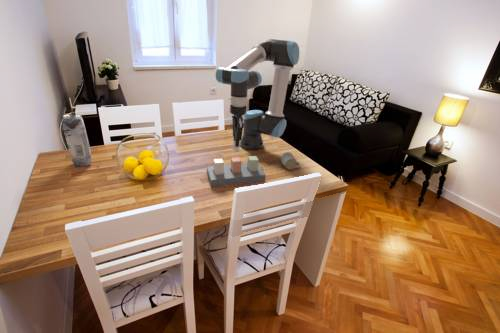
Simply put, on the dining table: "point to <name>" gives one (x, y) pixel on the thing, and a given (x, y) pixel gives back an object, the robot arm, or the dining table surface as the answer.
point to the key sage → (252, 164)
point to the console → (235, 176)
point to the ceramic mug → (289, 161)
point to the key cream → (218, 166)
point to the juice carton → (77, 140)
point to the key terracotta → (236, 165)
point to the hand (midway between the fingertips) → (236, 151)
